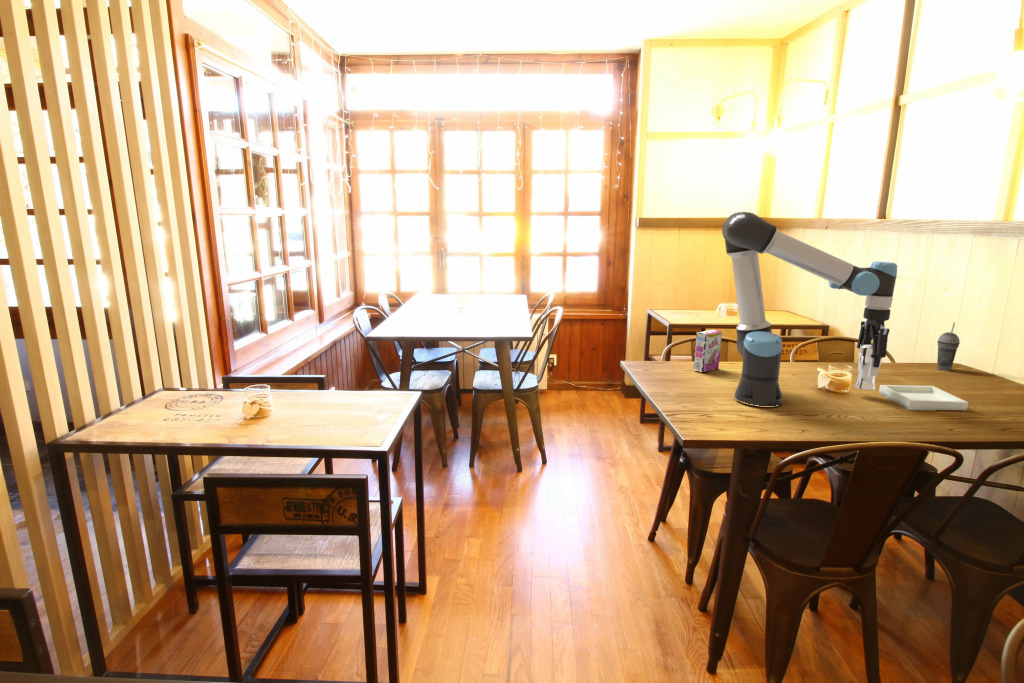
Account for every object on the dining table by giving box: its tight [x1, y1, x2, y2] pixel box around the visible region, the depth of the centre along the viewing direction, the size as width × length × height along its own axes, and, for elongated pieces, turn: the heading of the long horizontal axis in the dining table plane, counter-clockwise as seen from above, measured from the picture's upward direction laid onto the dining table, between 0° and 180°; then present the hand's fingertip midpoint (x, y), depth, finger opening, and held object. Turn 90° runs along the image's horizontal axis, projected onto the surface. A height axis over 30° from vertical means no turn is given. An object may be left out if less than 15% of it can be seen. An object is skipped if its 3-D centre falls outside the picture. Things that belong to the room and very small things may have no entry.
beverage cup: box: [936, 322, 961, 371], centre depth 229 cm, size 7×7×20 cm
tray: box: [878, 384, 969, 412], centre depth 192 cm, size 18×18×3 cm
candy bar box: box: [693, 329, 723, 373], centre depth 231 cm, size 11×5×16 cm, turn 126°
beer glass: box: [854, 344, 883, 391], centre depth 195 cm, size 7×7×15 cm
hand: (867, 372), depth 196 cm, fingers closed on beer glass, 7 cm apart
